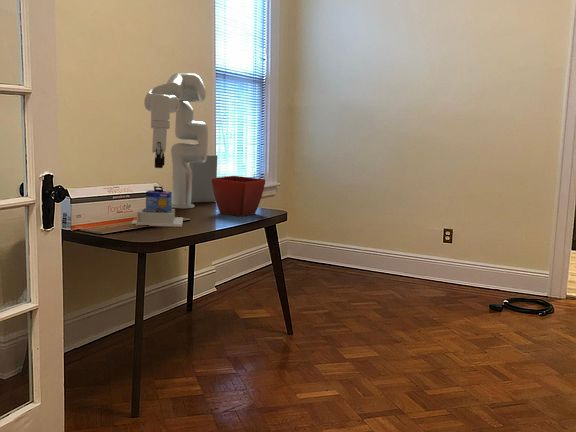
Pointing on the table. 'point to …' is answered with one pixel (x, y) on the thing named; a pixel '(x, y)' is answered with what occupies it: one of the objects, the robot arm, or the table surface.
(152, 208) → the ink cartridge box
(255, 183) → the plant pot
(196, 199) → the grey slab
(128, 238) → the table surface
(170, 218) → the end holder
